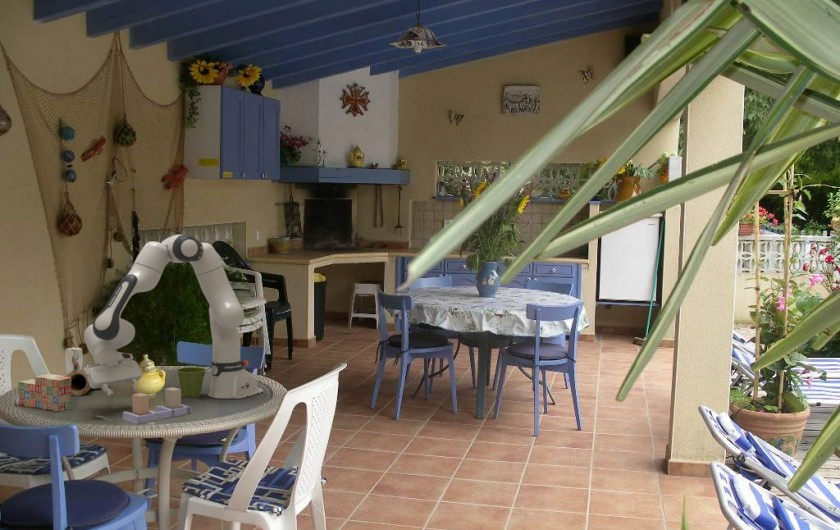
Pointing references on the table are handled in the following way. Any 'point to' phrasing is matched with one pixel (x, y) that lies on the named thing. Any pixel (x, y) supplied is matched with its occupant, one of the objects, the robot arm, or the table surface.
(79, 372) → the clay pipe
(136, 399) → the tan rectangular block
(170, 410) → the rack
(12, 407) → the table surface
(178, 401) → the beige upright block
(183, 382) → the plant pot
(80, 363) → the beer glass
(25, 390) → the stack of blocks
